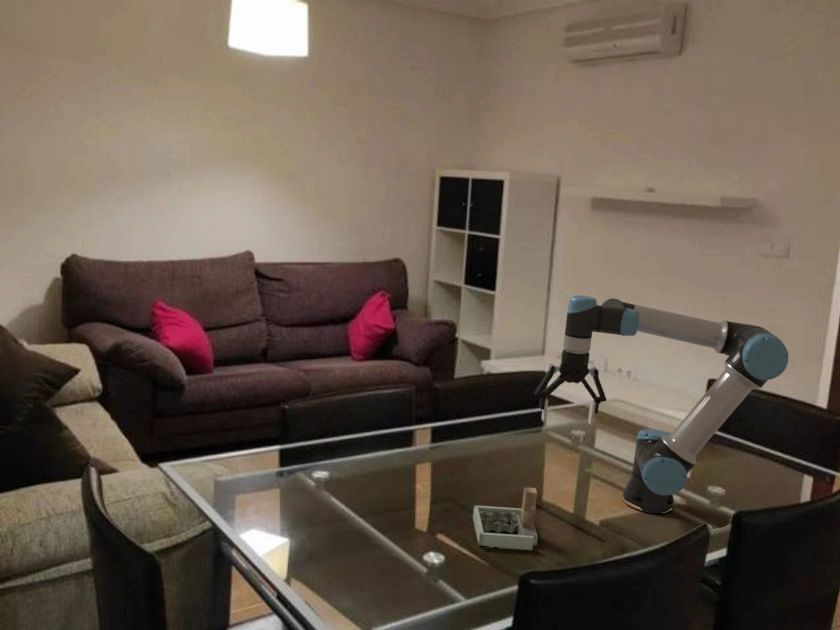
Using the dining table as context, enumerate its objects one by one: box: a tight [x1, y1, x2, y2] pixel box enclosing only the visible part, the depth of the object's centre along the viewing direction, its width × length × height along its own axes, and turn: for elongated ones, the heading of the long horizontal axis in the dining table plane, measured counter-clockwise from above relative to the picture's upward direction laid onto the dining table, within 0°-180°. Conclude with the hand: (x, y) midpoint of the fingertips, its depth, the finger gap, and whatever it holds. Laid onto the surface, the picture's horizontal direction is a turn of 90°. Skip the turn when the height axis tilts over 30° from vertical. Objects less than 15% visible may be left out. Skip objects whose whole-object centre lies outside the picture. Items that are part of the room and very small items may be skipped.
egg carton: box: [479, 510, 518, 534], centre depth 214 cm, size 11×8×4 cm
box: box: [472, 505, 534, 551], centre depth 210 cm, size 14×17×4 cm
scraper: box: [516, 486, 539, 547], centre depth 210 cm, size 4×12×13 cm, turn 2°
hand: (567, 422), depth 224 cm, fingers open, 13 cm apart
